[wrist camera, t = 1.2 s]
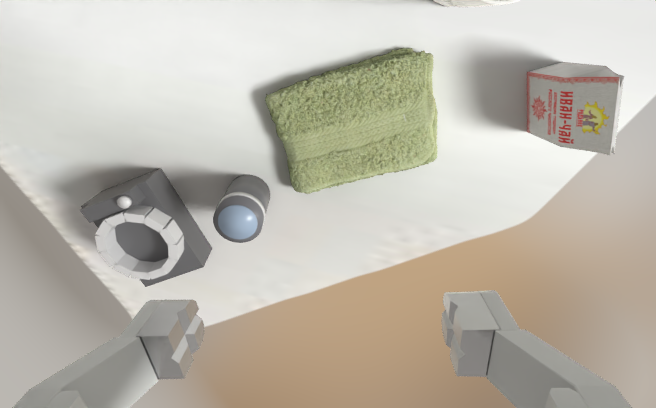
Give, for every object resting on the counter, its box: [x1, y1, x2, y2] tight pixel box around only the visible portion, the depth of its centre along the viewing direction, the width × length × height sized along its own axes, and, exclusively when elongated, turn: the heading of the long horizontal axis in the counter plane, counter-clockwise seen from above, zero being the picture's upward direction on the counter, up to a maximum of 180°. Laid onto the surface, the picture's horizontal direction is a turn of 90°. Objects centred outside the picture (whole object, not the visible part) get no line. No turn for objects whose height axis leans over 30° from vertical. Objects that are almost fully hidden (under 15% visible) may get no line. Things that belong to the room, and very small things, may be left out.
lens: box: [213, 175, 270, 243], centre depth 38 cm, size 5×5×7 cm
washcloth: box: [265, 48, 437, 194], centre depth 36 cm, size 13×18×3 cm
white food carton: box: [527, 62, 624, 155], centre depth 33 cm, size 4×7×10 cm, turn 15°
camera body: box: [80, 168, 212, 287], centre depth 39 cm, size 12×8×6 cm
